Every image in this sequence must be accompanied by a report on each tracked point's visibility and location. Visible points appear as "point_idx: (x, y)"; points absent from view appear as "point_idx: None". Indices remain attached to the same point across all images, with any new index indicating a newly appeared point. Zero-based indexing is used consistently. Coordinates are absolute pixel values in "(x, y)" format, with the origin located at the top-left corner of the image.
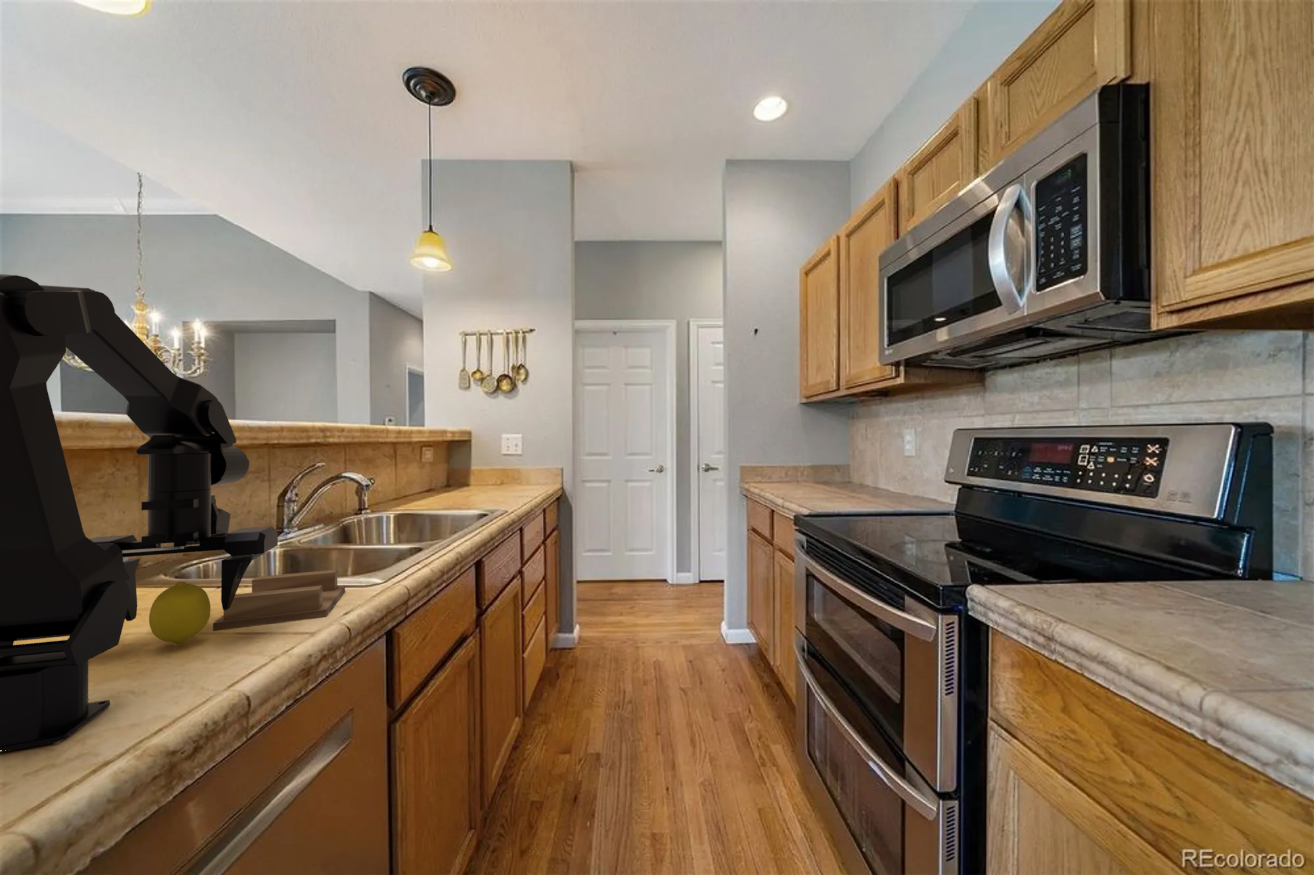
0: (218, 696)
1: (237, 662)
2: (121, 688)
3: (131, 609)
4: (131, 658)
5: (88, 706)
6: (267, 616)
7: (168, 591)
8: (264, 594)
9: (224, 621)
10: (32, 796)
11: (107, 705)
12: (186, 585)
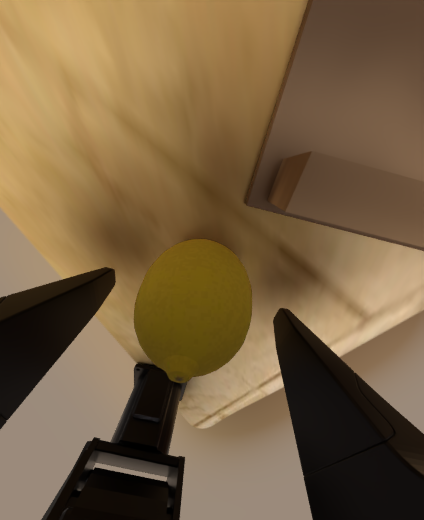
0: (253, 393)
1: (269, 351)
2: None
3: (98, 300)
4: None
5: None
6: (348, 229)
7: (162, 369)
8: (396, 237)
9: (268, 208)
10: (191, 420)
11: None
12: (199, 372)
